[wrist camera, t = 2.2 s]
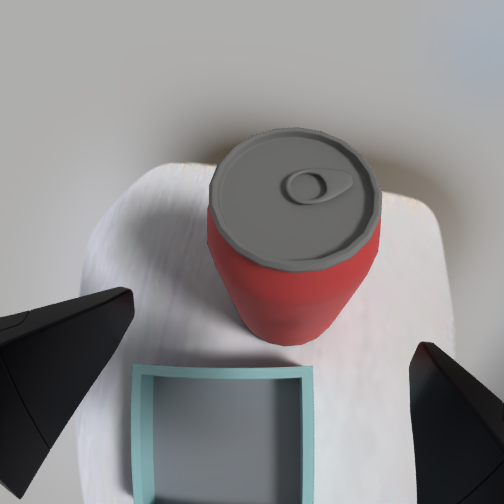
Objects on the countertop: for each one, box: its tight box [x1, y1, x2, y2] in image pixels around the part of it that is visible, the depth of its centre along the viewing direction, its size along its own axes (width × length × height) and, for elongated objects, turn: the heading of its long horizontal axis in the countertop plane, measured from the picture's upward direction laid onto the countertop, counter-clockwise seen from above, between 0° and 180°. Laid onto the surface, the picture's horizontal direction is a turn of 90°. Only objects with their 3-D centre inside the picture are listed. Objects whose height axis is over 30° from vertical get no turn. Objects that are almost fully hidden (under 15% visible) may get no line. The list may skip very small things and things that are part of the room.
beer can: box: [207, 128, 382, 346], centre depth 15 cm, size 7×7×12 cm
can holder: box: [131, 363, 314, 504], centre depth 16 cm, size 10×10×3 cm
